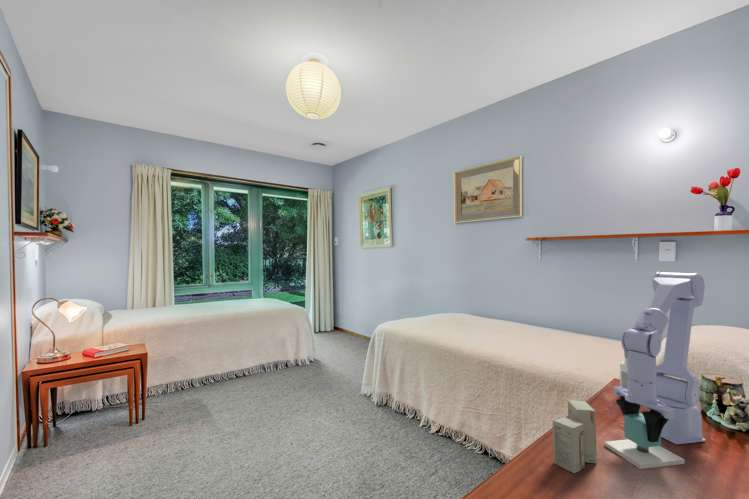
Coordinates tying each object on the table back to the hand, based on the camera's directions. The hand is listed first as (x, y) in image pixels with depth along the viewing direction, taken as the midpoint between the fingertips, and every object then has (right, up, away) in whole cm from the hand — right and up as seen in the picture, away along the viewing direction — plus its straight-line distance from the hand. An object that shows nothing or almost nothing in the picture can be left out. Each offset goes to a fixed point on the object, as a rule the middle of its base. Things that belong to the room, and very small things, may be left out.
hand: (642, 435), depth 86 cm
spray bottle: (+23, -5, +34) cm, 41 cm away
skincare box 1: (-21, -5, -5) cm, 22 cm away
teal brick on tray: (0, -1, 0) cm, 1 cm away
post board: (0, -5, 0) cm, 5 cm away
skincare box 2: (-15, -5, -1) cm, 16 cm away
